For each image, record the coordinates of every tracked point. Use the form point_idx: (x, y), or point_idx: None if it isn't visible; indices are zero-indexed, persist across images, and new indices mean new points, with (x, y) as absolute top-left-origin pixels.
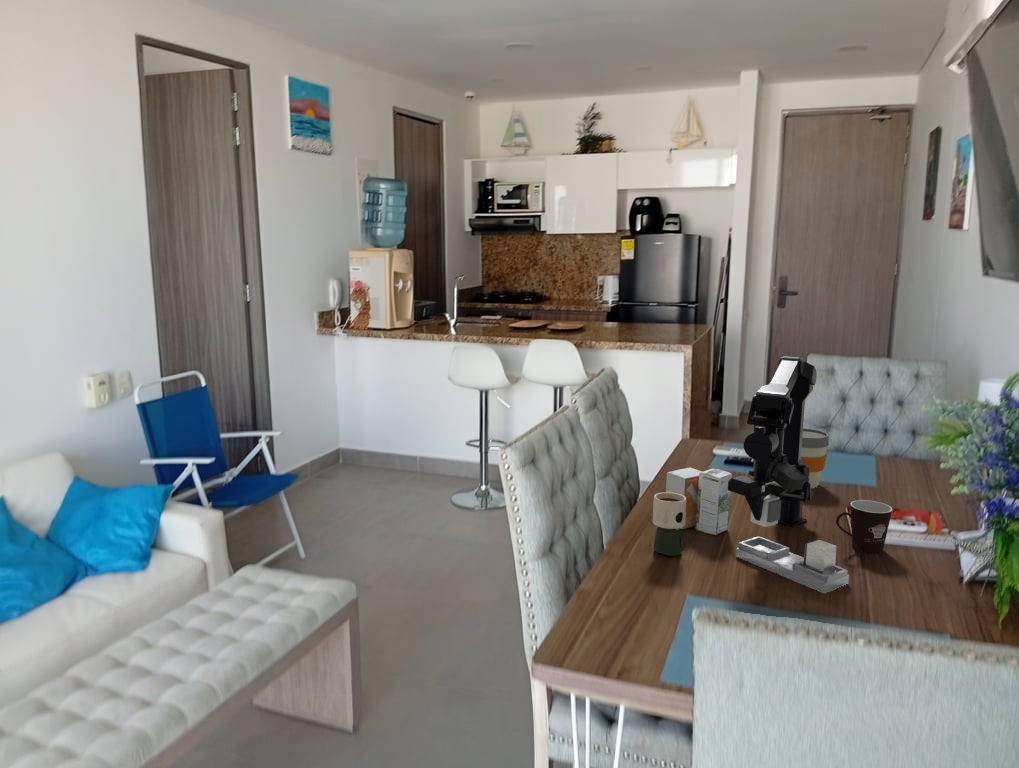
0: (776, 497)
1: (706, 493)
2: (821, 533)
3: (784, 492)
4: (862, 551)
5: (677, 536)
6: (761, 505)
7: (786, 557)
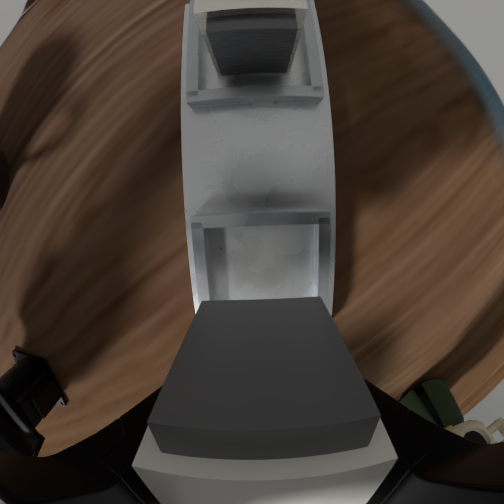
0: (177, 480)
1: None
2: (12, 296)
3: (36, 462)
4: (6, 167)
5: (446, 411)
6: (399, 427)
7: (243, 187)
